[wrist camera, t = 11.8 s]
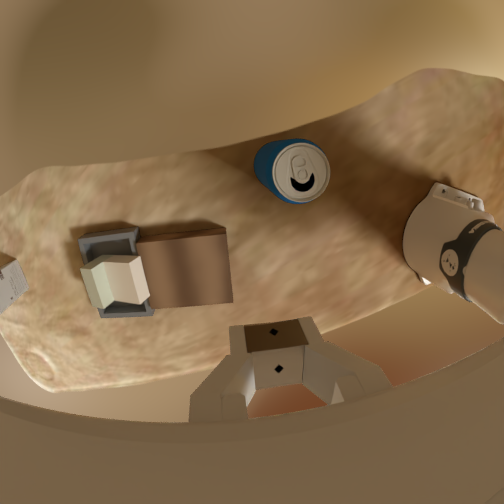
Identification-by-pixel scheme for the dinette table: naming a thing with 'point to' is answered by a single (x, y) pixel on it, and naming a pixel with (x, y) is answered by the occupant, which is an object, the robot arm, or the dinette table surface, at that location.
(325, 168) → the beverage can
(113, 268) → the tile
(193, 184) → the dinette table surface
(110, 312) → the box
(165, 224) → the dinette table surface
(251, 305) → the dinette table surface
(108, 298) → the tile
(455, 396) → the robot arm
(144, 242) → the walnut plate
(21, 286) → the skincare box
